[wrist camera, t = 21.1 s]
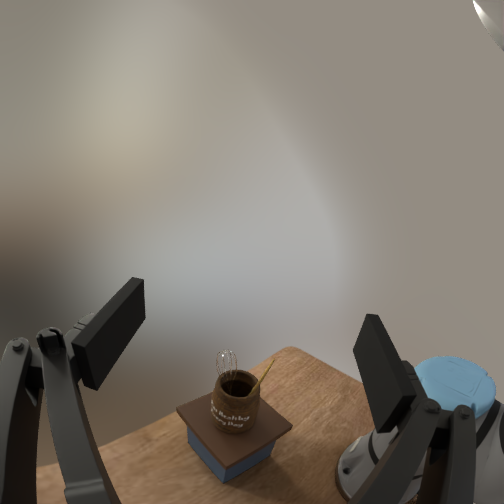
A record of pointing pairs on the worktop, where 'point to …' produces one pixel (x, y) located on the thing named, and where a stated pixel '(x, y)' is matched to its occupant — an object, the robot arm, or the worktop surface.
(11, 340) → the robot arm
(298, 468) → the worktop surface
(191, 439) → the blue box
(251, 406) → the utensil holder
